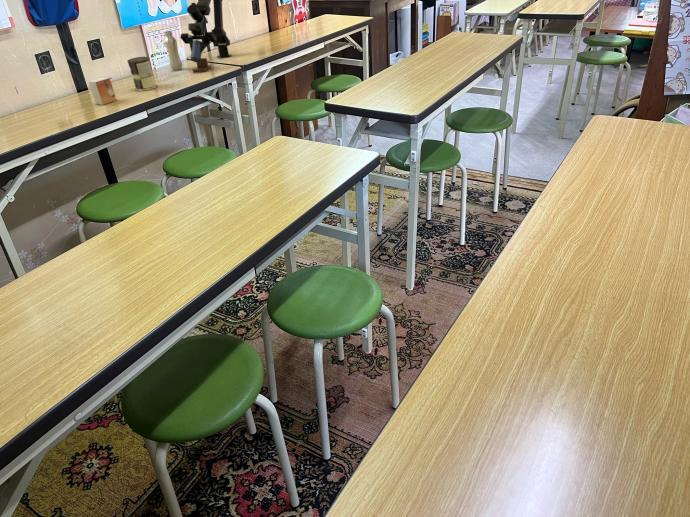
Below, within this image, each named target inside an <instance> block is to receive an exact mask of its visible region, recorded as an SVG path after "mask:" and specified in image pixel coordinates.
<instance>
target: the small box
mask: <svg viewBox="0 0 690 517" xmlns="http://www.w3.org/2000/svg"><path fill="white" fill-rule="evenodd" d="M88 85H89V88H90V91H91V95H92V97H93V99H94V103H95V105H102V106H103V105H106V104H109V103H112V102H116V101H117V96H116V93H115V91H114V88H113V84H112V81H111V78H110V77H100V78H99V77H98V78H96V79H92V80H89V81H88Z"/></svg>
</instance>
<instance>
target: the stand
mask: <svg viewBox="0 0 690 517" xmlns="http://www.w3.org/2000/svg"><path fill="white" fill-rule="evenodd" d="M195 63H196V67H194V68H193V69H192V73H206V72H208V71H209V70H210V69H212V65H211V64H209V62H208V58H207V57H201V61H200V62H195Z"/></svg>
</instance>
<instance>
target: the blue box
mask: <svg viewBox="0 0 690 517" xmlns="http://www.w3.org/2000/svg"><path fill="white" fill-rule="evenodd" d="M201 43H202V40H193V45H192V52H191V51H190V52H191V53H190V61H191V62H193V63H196V62H200V61H201V58H202V53H203V52H201Z"/></svg>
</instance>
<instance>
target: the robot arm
mask: <svg viewBox="0 0 690 517" xmlns="http://www.w3.org/2000/svg"><path fill="white" fill-rule="evenodd" d="M223 1H224V0H199V1H197V2H191V3H190V5H189V6H187V8H186V12H187V13H188V15H189V16H190V17H191V19H192V20H193V21H194V22H192V23H187V27H188V28H187V29H188V31H190V33H191V34H189V33H188V32H185V33H184V32H182V33H181V34H180V35H179V36H180V37H179V38H180V39H181V41H182V42H183V44H188V45H189V48H190V52H192V45H193V41H194V40H199V41H201V42H202V43H201V52H202V53H203V52H204V50H205V49H206V48H207V47H208V46H209V45H210V44H213V47H215V48H216V47H217V51H218V55H217V57H218V58H220V59H224V58H229V57H232V54H230V52H229V48H228V47H229V46H231V40H230V38H229V37H228V36H227V32H226V31H225V29H224V20H223V18H224V17H223ZM211 2H212V5H213V22H214V26H213V27H214V28H213V29H211V31H207V29H206V27H207V24H209V21H208V19H207V17H208V16H210V14H211V9H212V8H211V7H210V5H211ZM206 16H207V17H206Z"/></svg>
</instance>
